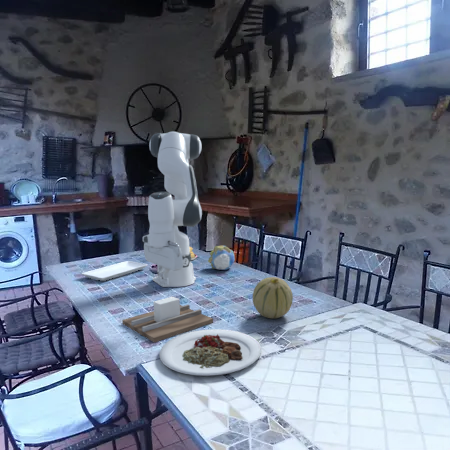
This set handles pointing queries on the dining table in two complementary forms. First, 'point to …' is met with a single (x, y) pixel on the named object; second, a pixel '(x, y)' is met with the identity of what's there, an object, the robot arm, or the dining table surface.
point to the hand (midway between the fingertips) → (164, 277)
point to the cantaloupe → (272, 297)
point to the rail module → (166, 308)
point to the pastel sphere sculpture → (192, 254)
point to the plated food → (210, 352)
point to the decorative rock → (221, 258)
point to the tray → (114, 270)
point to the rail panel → (167, 324)
